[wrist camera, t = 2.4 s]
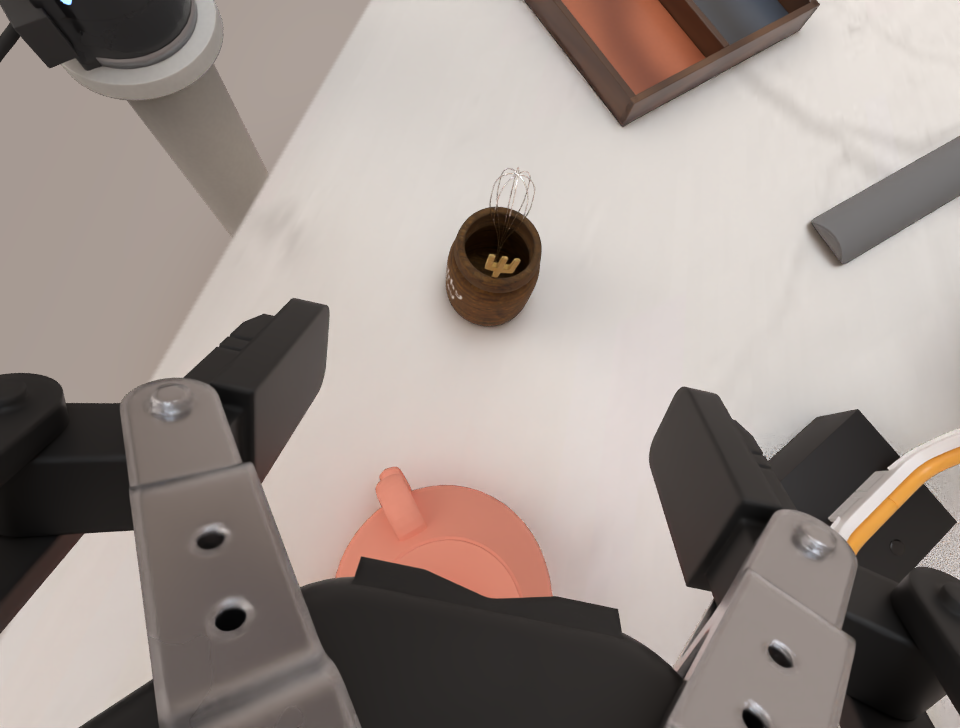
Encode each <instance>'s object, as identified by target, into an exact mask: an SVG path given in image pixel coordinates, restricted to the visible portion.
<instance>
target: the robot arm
mask: <svg viewBox="0 0 960 728" xmlns="http://www.w3.org/2000/svg"><path fill="white" fill-rule="evenodd" d="M0 5H1V7H2V9H3V11H4V12H5V14H6V16H7V17H8V19H9V21H10V23H9V25H8V26H7V28H6V29H5V30H4V32H3V33H2V34H1V36H0V62H1V61H2V59H3V58H4V57H5V55H6V54H7V53H8V52H9V50H10V49H11V48H12V47H13V45H14V44H15V43H16V42H17V40H18V39H19V37H20V36H21V37H22V38H23V40H24V41H25V42H26V43H27V44H28V45H29V46H30V47H31V48H32V50H33V51H34V52H35V53H36V54H37V55H38V56H39V57H40V58H41V60H42V61H43V62H44V63H45V64H46V65H47V67H49V68H52V67H54V66H57V65H59V64H62V63H65V62H67V61H70V60H72V59H75V58H76V60H77V61H78V62H79V63H80V65H81V66H82V67H83V68H84V69H85V70H86V71H90V70H93V69H95V68H98V67H102V66H104V67H109V68H115V69H136V68H142V67H147V66H151V65H154V64H157V63H159V62H161V61H164V60H166V59H167V58H169V57H171V56H172V55H174V54H175V53H177V52H178V51H179V50H180V49H181V48H182V47H183V46H184V45H185V44H186V43H187V42H188V40H189V39H190V37H191V36H192V34H193V32H194V29H195V27H196V23H197V16H198V15H197V5H196V1H195V0H0ZM328 330H329V307H328V306H327V305H323V304H319V303H314V302H310V301H305V300H301V299H297V298H292V299H291V300H290V301H289V302H288V303H287V304H286V305H285V306H284V307H283V308H282V309H281V310H280V311H279V312H278V313H277V314H276V315H275V316H272V315H267V314H262V315H260V316H257V317H255V318H252V319H250V320H247V321H245V322H243V323H242V324H241V325H240V326H239V327H238V328H236V329H235V330H234V331H233V332H232V333H231V334H230V337H227V338H226V339H225V340H224V341H222V342H221V343H220V346H219V347H216V348H215V349H214V350H213V351H212V352H211V353H210V354H208V355H207V356H206V357H205V358H204V359H203V360H202V361H201V362H200V363H199V364H198V365H197V366H196V367H194V368H193V369H192V370H191V371H190V372H189V373H188V374H187V375H186V376H185V377H184V378H167V379H160V380H156V381H152V382H148V383H146V384H143V385H141V386H139V387H137V388H135V389H134V390H132V391H130V392H129V393H128V394H127V395H126V396H125V397H124V398H123V400H122V402H121V403H113V404H109V403H106V404H105V403H102V404H99V403H66V402H65V398H64V394H63V389H62V387H61V386H60V384H59V383H58V382H57V381H55V380H53V379H52V378H49V377H46V376H43V375H38V374H30V373H11V374H2V375H0V633H1V632H2V631H3V630H4V629H5V627H6V626H7V625H8V624H9V623H10V621H11V620H12V619H13V618H14V617H15V615H16V614H17V613H18V612H19V611H20V609H21V608H22V607H23V606H24V605H25V604H26V602H27V601H28V600H29V599H30V598H31V596H32V595H33V594H34V593H35V592H36V590H37V589H38V588H39V587H40V586H41V584H42V583H43V582H44V581H45V580H46V578H47V577H48V576H49V575H50V574H51V573H52V571H53V570H54V569H55V568H56V567H57V565H58V564H59V563H60V562H61V561H62V559H63V558H64V557H65V556H66V555H67V553H68V552H69V551H70V550H71V549H72V548H73V546H74V545H75V544H76V543H77V542H78V540H79V539H80V538H81V537H82V536H83V534H84V533H98V532H114V531H131V530H134V534H135V542H136V550H137V558H138V565H139V573H140V581H141V589H142V597H143V604H144V612H145V620H146V628H147V636H148V643H149V651H150V659H151V667H152V675H153V679H152V680H151V681H149V682H148V683H146V684H144V685H143V686H141V687H140V688H138V689H137V690H135V691H134V692H132V693H131V694H129V695H128V696H126V697H125V698H123V699H122V700H120V701H118V702H117V703H115V704H114V705H112V706H111V707H109V708H108V709H106V710H105V711H103V712H102V713H100V714H99V715H97V716H96V717H94V718H93V719H91V720H89V721H88V722H86V723H85V724H83V725H82V726H80V727H79V728H838V726H839V724H840V727H841V728H935V727H934V725H933V723H932V722H931V720H930V718H929V716H928V715H927V713H926V710H928V709H929V708H930V707H931V706H933V705H934V704H935V703H936V702H938V701H939V700H940V699H941V698H943V697H944V696H945V695H946V694H947V695H948V697H949V699H950V700H951V702H952V704H953V705H954V707H955V708H956V710H957V712H958V713H959V715H960V580H958V579H957V578H955V577H953V576H951V575H949V574H947V573H944V572H942V571H939V570H936V569H933V568H928V567H916V568H914V569H912V570H911V571H910V572H909V574H908V575H907V576H906V577H905V578H904V579H903V580H902V581H901V582H900V583H898V582H896V581H894V580H891V579H889V578H887V577H884V576H882V575H880V574H878V573H875V572H873V571H871V570H869V569H866V568H864V567H862V566H859V565H858V561H857V557H856V555H855V553H854V551H853V550H852V548H851V546H850V545H849V544H848V543H847V541H846V540H845V539H844V538H843V537H842V536H841V535H840V534H838V533H837V532H836V531H835V530H834V529H832V528H831V527H830V526H828V525H827V524H825V523H824V522H822V521H821V520H819V519H817V518H815V517H813V516H811V515H809V514H806V513H803V512H801V511H797V509H796V507H795V506H794V504H793V502H792V501H791V499H790V497H789V496H788V494H787V492H786V491H785V489H784V487H783V486H782V484H781V482H780V481H779V479H778V477H777V476H776V474H775V472H774V471H773V470H771V466H770V464H769V462H768V461H767V459H766V457H765V456H762V454H763V452H762V451H761V449H760V447H759V446H758V444H757V442H756V441H755V439H754V438H753V436H752V435H751V434H750V433H749V432H748V431H746V430H745V429H744V428H743V427H742V426H741V425H740V424H739V423H738V422H737V421H736V420H733V419H732V418H731V416H730V415H729V413H728V411H727V409H726V408H725V406H724V404H723V402H722V401H721V399H720V397H719V396H718V395H717V394H714V393H710V392H706V391H701V390H697V389H692V388H688V387H681V388H680V389H679V390H678V391H677V392H676V394H675V395H674V397H673V399H672V401H671V403H670V406H669V408H668V410H667V412H666V414H665V416H664V418H663V420H662V422H661V424H660V426H659V428H658V430H657V432H656V434H655V436H654V438H653V441H652V444H651V447H650V454H649V463H650V468H651V471H652V475H653V478H654V481H655V484H656V488H657V491H658V494H659V498H660V501H661V504H662V507H663V511H664V514H665V517H666V521H667V524H668V527H669V530H670V534H671V537H672V540H673V543H674V547H675V550H676V553H677V557H678V560H679V563H680V566H681V570H682V573H683V576H684V580H685V583H686V586H687V587H692V588H697V589H702V590H706V591H711V592H712V594H713V597H714V599H713V600H712V602H711V603H710V605H709V606H708V608H707V609H706V611H705V612H704V614H703V616H702V617H701V619H700V621H699V623H698V624H697V626H696V628H695V630H694V631H693V633H692V635H691V637H690V638H689V640H688V642H687V644H686V645H685V647H684V649H683V650H682V652H681V654H680V656H679V657H678V659H677V661H676V663H675V664H674V666H673V668H672V667H671V666H670V665H669V664H668V663H667V662H666V661H664V660H663V659H662V658H661V657H660V656H659V655H657V654H656V653H655V652H653V651H652V650H650V649H649V648H648V647H646V646H645V645H643V644H642V643H640V642H638V641H637V640H635V639H633V638H631V637H630V636H628V635H626V634H624V633H622V631H621V625H620V619H619V613H618V609H615V608H610V607H605V606H600V605H595V604H591V603H586V602H581V601H576V600H571V599H566V598H561V597H557V596H551V597H525V598H498V599H496V598H488V597H485V596H482V595H480V594H478V593H476V592H474V591H472V590H469V589H467V588H465V587H463V586H461V585H458V584H456V583H454V582H452V581H450V580H447V579H445V578H443V577H441V576H439V575H436V574H434V573H432V572H430V571H428V570H425V569H421V568H416V567H411V566H406V565H401V564H397V563H392V562H387V561H382V560H377V559H372V558H367V557H363V556H361V558H360V561H359V564H358V567H357V570H356V573H355V576H354V577H340V578H333V579H326V580H322V581H319V582H315V583H311V584H308V585H305V586H303V587H299V584H298V582H297V579H296V576H295V574H294V571H293V568H292V566H291V563H290V560H289V558H288V555H287V552H286V550H285V547H284V544H283V542H282V539H281V536H280V534H279V531H278V528H277V525H276V523H275V520H274V517H273V515H272V512H271V509H270V507H269V504H268V501H267V499H266V496H265V493H264V491H263V488H262V485H261V483H262V482H263V480H264V479H265V477H266V475H267V474H268V472H269V471H270V469H271V467H272V466H273V464H274V463H275V461H276V459H277V458H278V456H279V455H280V453H281V451H282V450H283V448H284V447H285V445H286V443H287V442H288V440H289V439H290V437H291V435H292V434H293V432H294V431H295V429H296V427H297V426H298V424H299V423H300V421H301V419H302V418H303V416H304V415H305V413H306V411H307V410H308V408H309V407H310V405H311V403H312V402H313V400H314V399H315V397H316V395H317V394H318V392H319V390H320V388H321V385H322V382H323V378H324V374H325V369H326V357H327V344H328Z"/></svg>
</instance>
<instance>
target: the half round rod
mask: <svg viewBox="0 0 960 728" xmlns="http://www.w3.org/2000/svg"><path fill="white" fill-rule="evenodd" d="M959 195H960V136H959V137H957V138H955V139H953V140H952V141H950V142H948V143H946V144H945V145H943V146H941V147H939V148H938V149H936V150H934V151H932V152H931V153H929V154H927V155H925V156H923V157H922V158H920V159H918V160H916V161H915V162H913V163H911V164H909V165H908V166H906V167H904V168H902V169H901V170H899V171H897V172H895V173H893V174H892V175H890V176H888V177H886V178H885V179H883V180H881V181H879V182H878V183H876V184H874V185H872V186H871V187H869V188H867V189H865V190H864V191H862V192H860V193H858V194H856V195H855V196H853V197H851V198H849V199H848V200H846V201H844V202H842V203H841V204H839V205H837V206H835V207H834V208H832V209H830V210H828V211H827V212H825V213H823V214H821V215H819V216H818V217H816V218H814V219H813V220H812V221H811V222H812V224H813V226H814V227H815V228H816V230H817V231H818V232H819V234H820V235H821V237H822V238H823V239H824V241H825V242H826V243H827V245H828V246H829V247H830V249H831V250H832V251H833V253H834V254H835V255H836V257H837V258H838V259H839V261H840V262H842V263H843V264H845V263H848V262H849V261H851V260H853V259H854V258H856V257H858V256H859V255H861V254H863V253H864V252H866V251H868V250H869V249H871V248H873V247H874V246H876V245H878V244H879V243H881V242H883V241H884V240H886V239H888V238H889V237H891V236H893V235H894V234H896V233H898V232H899V231H901V230H903V229H904V228H906V227H908V226H909V225H911V224H913V223H914V222H916V221H918V220H919V219H921V218H923V217H924V216H926V215H928V214H929V213H931V212H933V211H934V210H936V209H938V208H939V207H941V206H943V205H944V204H946V203H948V202H949V201H951V200H953V199H954V198H956V197H958V196H959Z"/></svg>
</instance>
